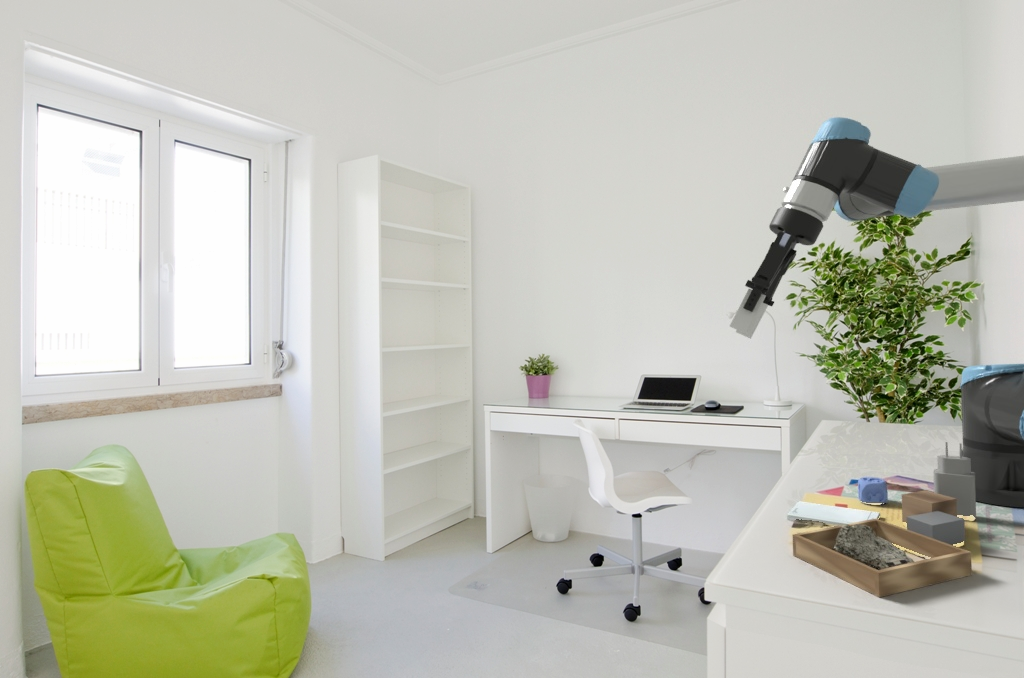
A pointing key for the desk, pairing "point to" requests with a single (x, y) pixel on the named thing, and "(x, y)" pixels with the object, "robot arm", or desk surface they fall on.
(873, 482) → the decorative dice
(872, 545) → the rock sample
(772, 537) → the desk surface
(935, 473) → the power adapter
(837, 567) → the oak frame
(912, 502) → the walnut block
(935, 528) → the charcoal block
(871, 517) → the hard drive
